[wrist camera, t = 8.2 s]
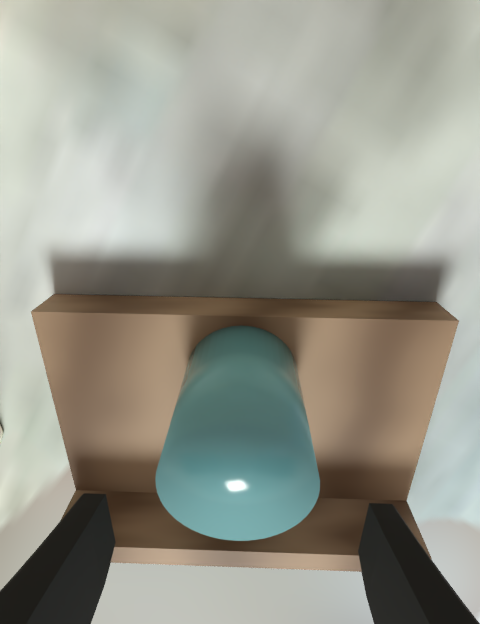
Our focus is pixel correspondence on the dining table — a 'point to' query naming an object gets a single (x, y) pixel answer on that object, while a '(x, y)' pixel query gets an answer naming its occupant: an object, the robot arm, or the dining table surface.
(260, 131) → the dining table surface
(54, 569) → the robot arm
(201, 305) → the walnut shelf
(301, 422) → the teal round canister
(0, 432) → the white cup
